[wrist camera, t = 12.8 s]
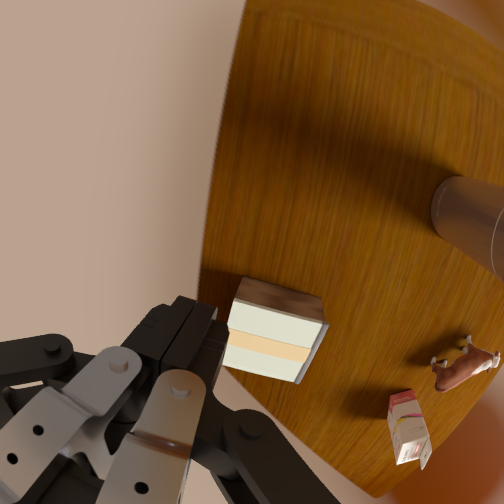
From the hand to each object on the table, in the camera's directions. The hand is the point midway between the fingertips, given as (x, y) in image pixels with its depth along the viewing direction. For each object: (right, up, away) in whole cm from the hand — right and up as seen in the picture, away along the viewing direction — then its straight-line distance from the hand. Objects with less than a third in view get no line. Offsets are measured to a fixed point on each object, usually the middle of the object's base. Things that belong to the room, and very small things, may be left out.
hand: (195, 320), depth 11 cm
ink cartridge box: (+30, -27, +33) cm, 52 cm away
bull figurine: (+38, -14, +28) cm, 49 cm away
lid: (+4, -9, +24) cm, 26 cm away
